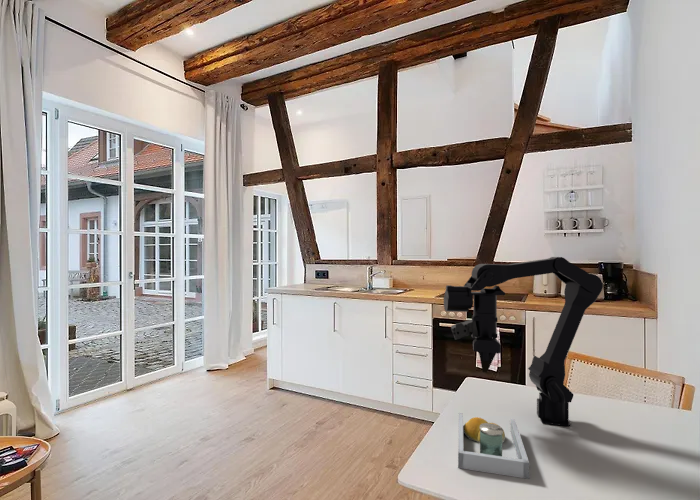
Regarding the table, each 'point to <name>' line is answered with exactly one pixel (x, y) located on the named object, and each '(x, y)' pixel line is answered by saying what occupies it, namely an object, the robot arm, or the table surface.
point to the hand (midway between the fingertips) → (484, 372)
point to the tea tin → (491, 439)
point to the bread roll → (476, 429)
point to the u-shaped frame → (495, 462)
